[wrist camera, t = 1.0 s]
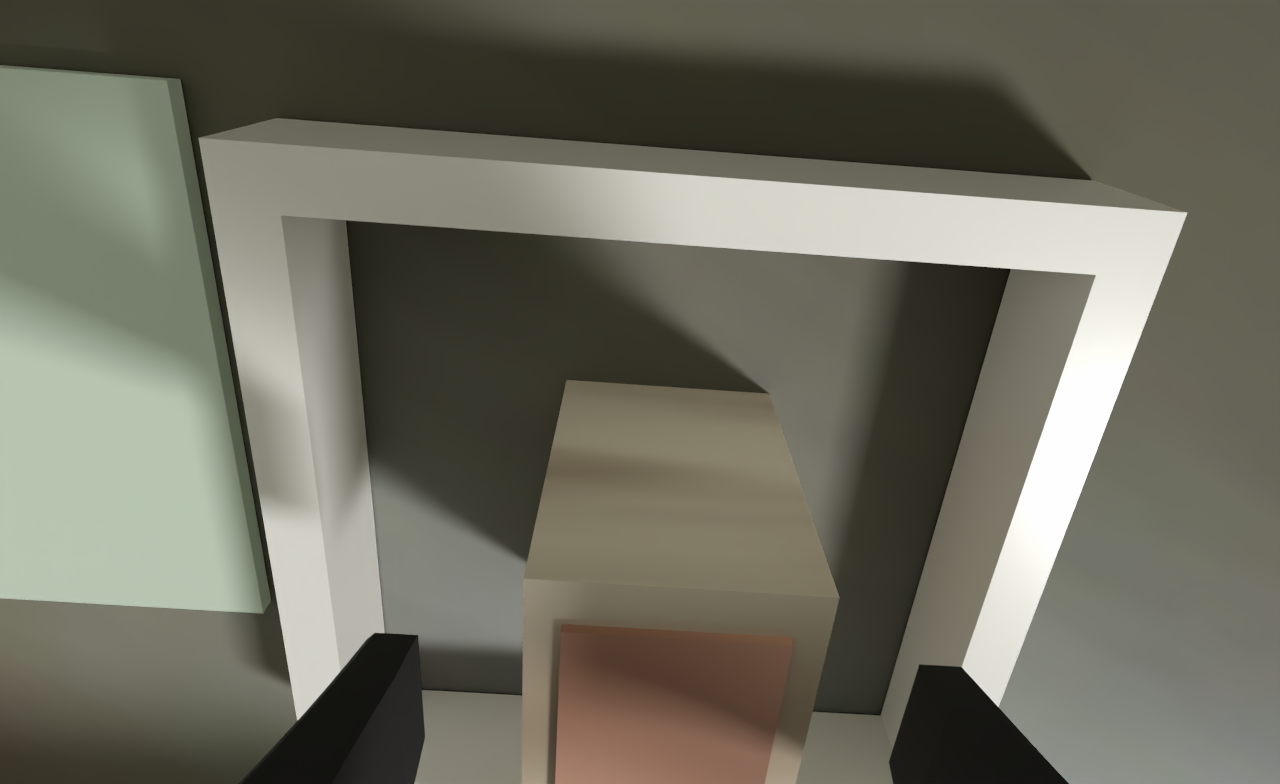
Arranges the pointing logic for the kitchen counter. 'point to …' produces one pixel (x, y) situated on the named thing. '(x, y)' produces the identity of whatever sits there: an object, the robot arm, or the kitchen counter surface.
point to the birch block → (671, 594)
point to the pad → (114, 357)
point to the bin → (685, 215)
